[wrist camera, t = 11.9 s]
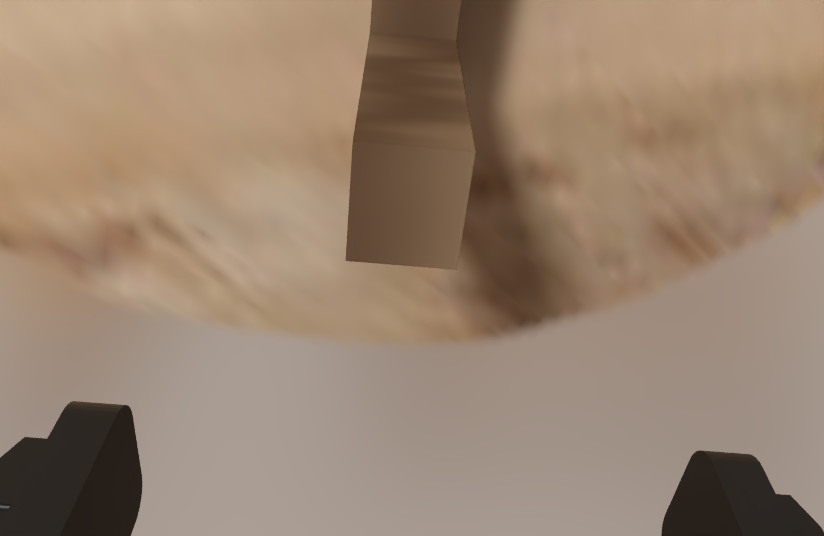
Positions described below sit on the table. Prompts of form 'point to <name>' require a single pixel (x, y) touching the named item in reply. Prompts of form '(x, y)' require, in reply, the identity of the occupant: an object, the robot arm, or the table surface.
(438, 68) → the bent wooden plank
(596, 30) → the table surface
